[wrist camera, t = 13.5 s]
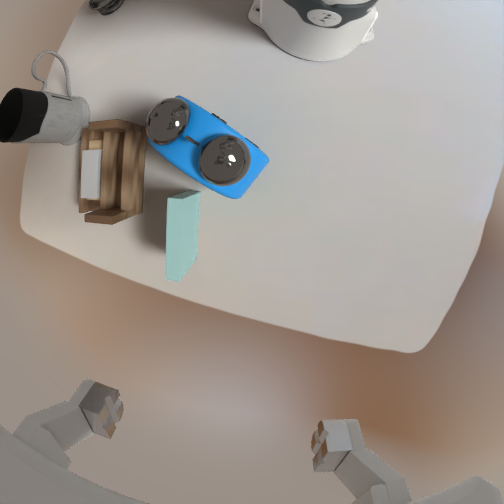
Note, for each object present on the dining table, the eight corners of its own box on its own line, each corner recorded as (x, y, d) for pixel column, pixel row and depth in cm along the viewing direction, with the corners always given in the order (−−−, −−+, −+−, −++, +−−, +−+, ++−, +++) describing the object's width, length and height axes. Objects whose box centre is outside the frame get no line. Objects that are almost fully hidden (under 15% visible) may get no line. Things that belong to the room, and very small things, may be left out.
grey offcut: (88, 150, 33) (82, 150, 31) (105, 149, 33) (99, 149, 31) (86, 196, 35) (80, 198, 34) (102, 197, 35) (97, 198, 33)
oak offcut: (95, 141, 34) (89, 140, 32) (111, 140, 34) (106, 139, 32) (92, 198, 37) (86, 199, 35) (108, 199, 37) (102, 200, 35)
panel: (188, 190, 37) (167, 197, 29) (200, 191, 37) (182, 199, 29) (185, 257, 40) (165, 279, 32) (196, 258, 40) (179, 281, 32)
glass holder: (49, 139, 35) (-12, 140, 21) (76, 66, 31) (20, 46, 17) (79, 150, 36) (14, 153, 22) (110, 71, 32) (53, 45, 17)
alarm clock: (170, 141, 35) (117, 131, 21) (196, 106, 34) (155, 75, 19) (243, 194, 37) (228, 212, 23) (271, 159, 35) (273, 154, 21)
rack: (94, 130, 35) (62, 126, 27) (148, 126, 35) (120, 119, 27) (91, 208, 39) (59, 219, 31) (142, 212, 39) (114, 224, 31)
